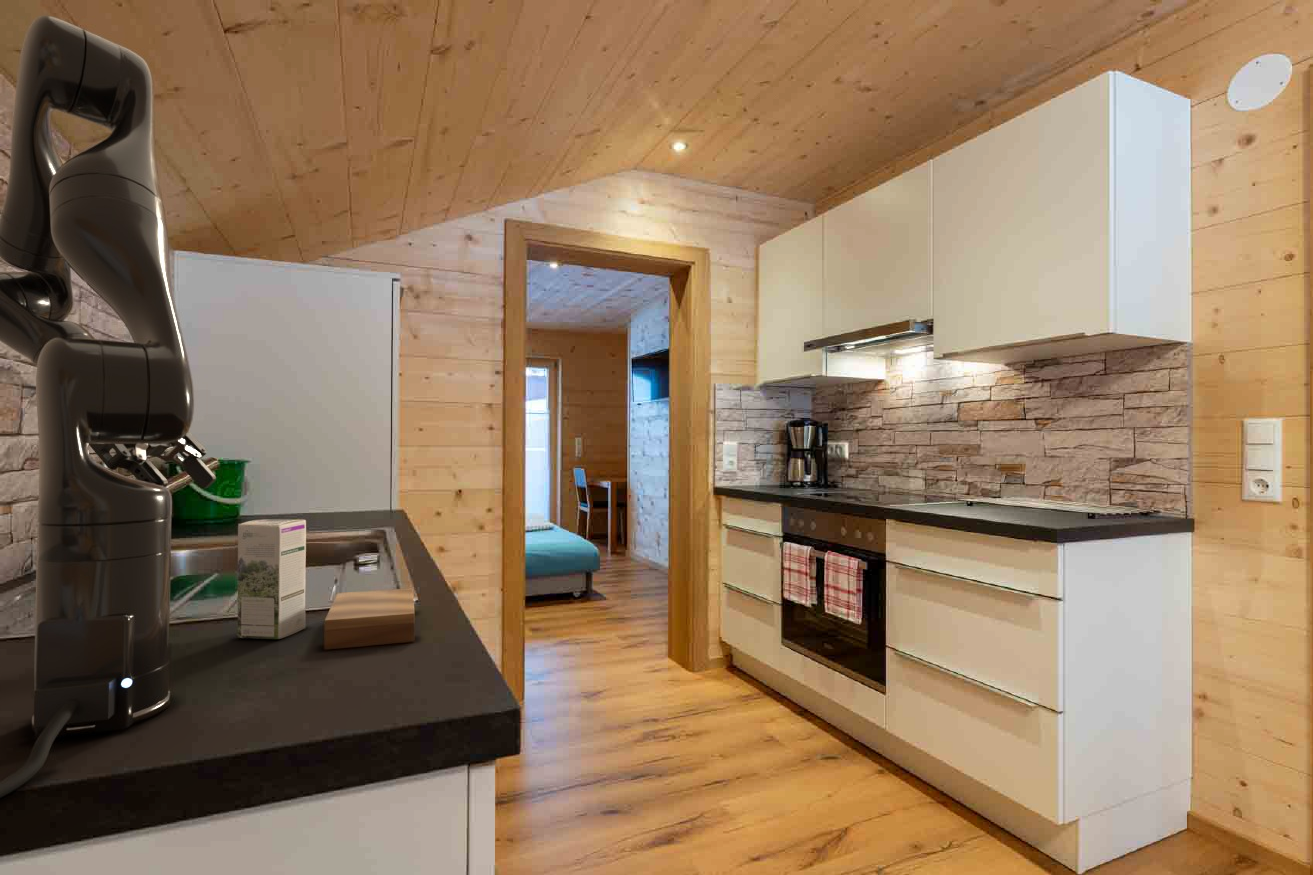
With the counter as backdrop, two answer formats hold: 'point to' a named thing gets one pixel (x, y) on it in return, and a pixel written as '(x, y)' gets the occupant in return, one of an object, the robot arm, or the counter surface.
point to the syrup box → (271, 578)
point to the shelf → (370, 619)
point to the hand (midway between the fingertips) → (186, 486)
